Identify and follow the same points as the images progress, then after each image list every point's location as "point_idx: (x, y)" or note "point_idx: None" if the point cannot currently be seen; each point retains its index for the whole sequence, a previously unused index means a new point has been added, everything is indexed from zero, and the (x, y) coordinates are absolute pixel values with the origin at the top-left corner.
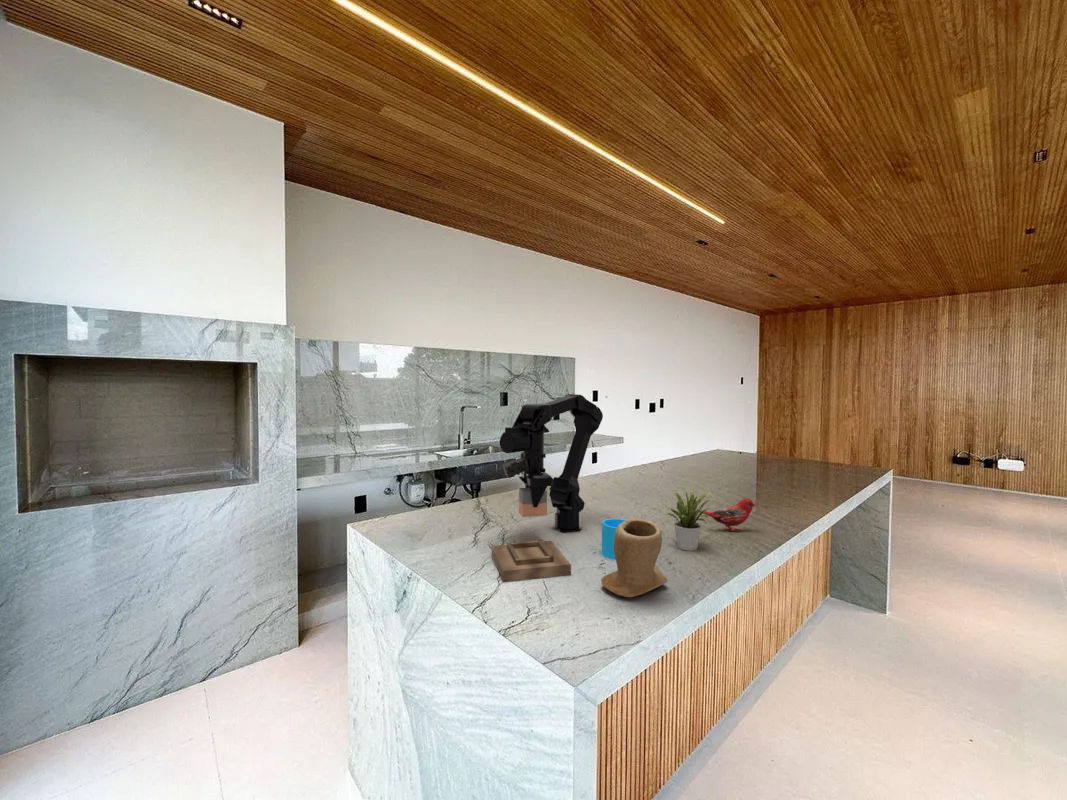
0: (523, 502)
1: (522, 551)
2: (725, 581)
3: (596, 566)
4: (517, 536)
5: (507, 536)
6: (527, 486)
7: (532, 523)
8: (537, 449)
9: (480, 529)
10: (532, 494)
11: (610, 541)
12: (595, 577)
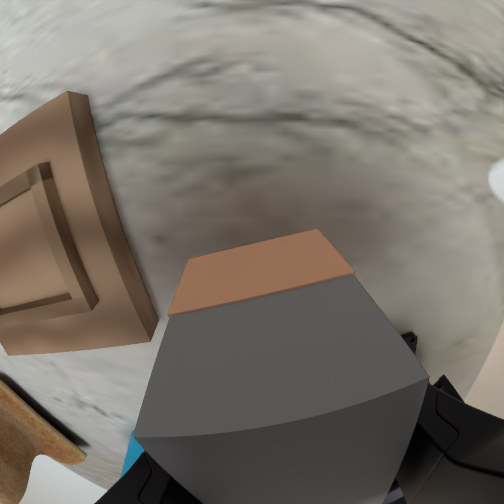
0: (170, 335)
1: (29, 230)
2: (104, 488)
3: (81, 398)
4: (323, 186)
5: (325, 139)
6: (427, 452)
7: (457, 254)
8: None
9: (408, 35)
10: (130, 472)
11: (125, 462)
12: (33, 379)
